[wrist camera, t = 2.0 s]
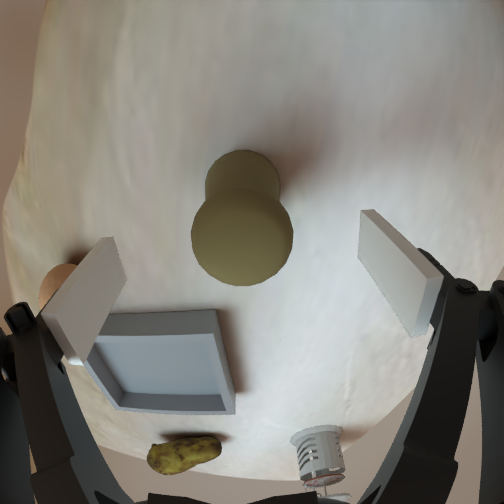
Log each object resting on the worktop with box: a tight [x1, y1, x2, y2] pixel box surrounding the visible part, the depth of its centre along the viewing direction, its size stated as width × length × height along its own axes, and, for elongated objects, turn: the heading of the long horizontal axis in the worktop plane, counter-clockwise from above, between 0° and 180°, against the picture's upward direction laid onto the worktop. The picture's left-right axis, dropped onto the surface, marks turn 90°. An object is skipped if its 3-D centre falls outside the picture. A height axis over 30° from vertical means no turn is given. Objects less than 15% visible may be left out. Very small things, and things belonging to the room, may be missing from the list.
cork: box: [191, 150, 293, 286], centre depth 18 cm, size 6×6×11 cm
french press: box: [290, 425, 351, 502], centre depth 34 cm, size 10×12×25 cm
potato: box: [147, 437, 222, 475], centre depth 40 cm, size 8×13×8 cm, turn 82°
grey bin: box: [84, 309, 236, 415], centre depth 31 cm, size 17×15×4 cm
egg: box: [39, 263, 77, 309], centre depth 24 cm, size 5×5×7 cm
